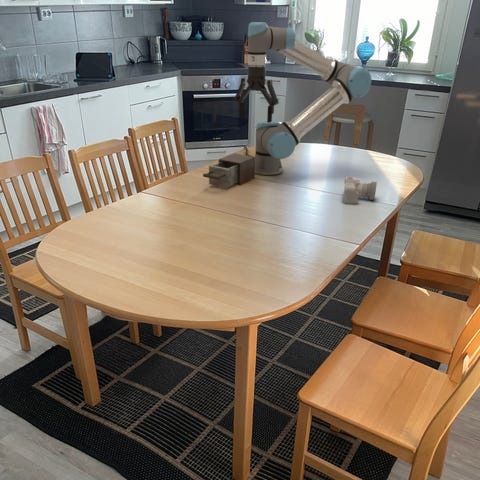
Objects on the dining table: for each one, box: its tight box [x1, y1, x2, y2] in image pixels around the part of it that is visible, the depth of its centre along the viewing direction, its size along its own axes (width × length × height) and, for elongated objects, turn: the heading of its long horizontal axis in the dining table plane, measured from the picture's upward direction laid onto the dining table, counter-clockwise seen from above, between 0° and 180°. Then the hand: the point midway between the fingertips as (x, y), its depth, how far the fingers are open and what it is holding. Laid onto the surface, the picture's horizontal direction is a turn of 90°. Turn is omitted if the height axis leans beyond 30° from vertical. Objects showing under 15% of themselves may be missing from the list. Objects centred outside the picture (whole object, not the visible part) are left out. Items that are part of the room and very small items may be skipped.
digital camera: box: [342, 176, 378, 205], centre depth 208 cm, size 17×14×10 cm
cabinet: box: [218, 152, 255, 186], centre depth 227 cm, size 13×11×10 cm
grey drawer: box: [202, 161, 239, 189], centre depth 218 cm, size 19×10×8 cm, turn 149°
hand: (255, 120), depth 214 cm, fingers open, 13 cm apart
